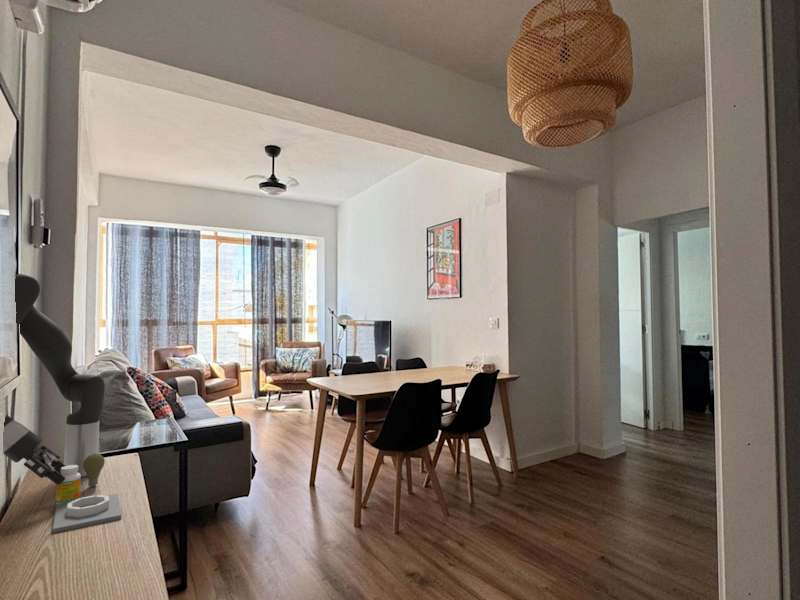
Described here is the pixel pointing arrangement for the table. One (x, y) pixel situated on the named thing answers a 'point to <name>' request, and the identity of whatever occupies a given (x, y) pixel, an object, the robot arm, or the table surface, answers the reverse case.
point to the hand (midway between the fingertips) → (65, 477)
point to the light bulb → (93, 468)
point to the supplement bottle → (69, 485)
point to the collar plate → (86, 512)
